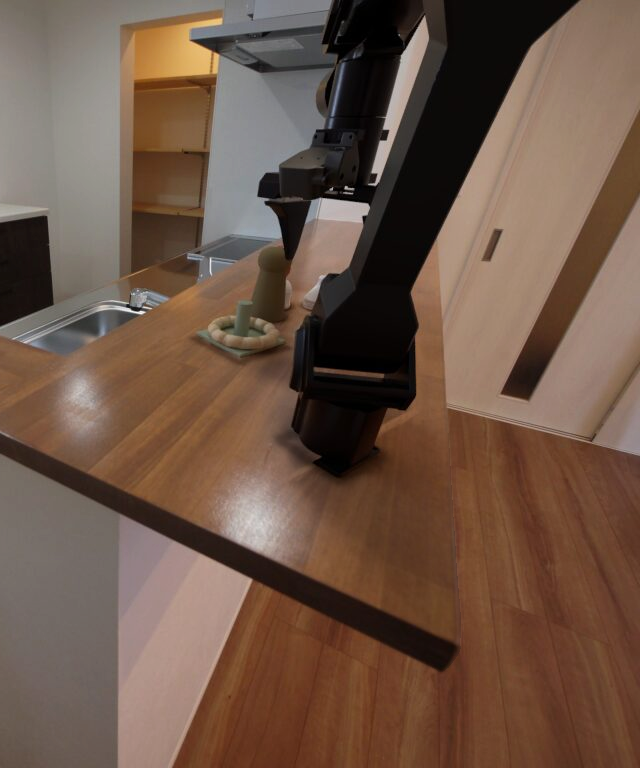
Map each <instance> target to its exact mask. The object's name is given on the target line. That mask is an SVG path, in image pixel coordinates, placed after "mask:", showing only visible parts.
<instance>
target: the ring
mask: <svg viewBox="0 0 640 768" xmlns="http://www.w3.org/2000/svg"><path fill="white" fill-rule="evenodd" d="M235 319H236V315H225V316H222V317H217V318H215V319H213V321H212V322H211V323H210V324H209V325H208V326H207V329H208V332H209V334H210V336H211V338H212V339H213V340H215V341H217V342H219V343H221V344H223V345H225V346H228V347H233V348H238V349H262V348H265V347H268V346H271V345H274V344H275V342H276V341H277V339H278V337H280V331H279V329H277V327H275V325H274V324H273V323H272V322H267V321H264V320H262V319H259V318H254V317H251V318H250V324H249V328H254V329H257V330H259V331H261V332H264V333H265V334H266V335H264V336H261V337H239V336H234V335H229V334H227V333H225V332H223V331H221V330H220V329H222V328H225V327H229V326H235Z"/></svg>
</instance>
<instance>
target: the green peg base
mask: <svg viewBox="0 0 640 768" xmlns="http://www.w3.org/2000/svg"><path fill="white" fill-rule="evenodd" d="M252 306H253V302H251V300H248V299H240V300H238V301H237V306H236V312H235V313H236V314H235V316H236V319H235V326H229V327H225V328H222V329H220V330H221V331H223V332H225V333H227V334H229V335H234V336H239V337H261V336H264V335H266V334H265V333H264V332H261V331H259V330H257V329H254V328H249V324H250V318H251V312H252ZM195 335H196V336H197V337H200V338H202V339H203V340H205V341H207V342H209V343H211V344H213V345H215V346H217V347H219V348H221V349H222V350H224V351H226V352H228V353H230V354H232V355H234V356H236V357H238V358H239V359H240V358H244V357H247V356H249V355H253V354H255V353H256V354H257V353H260V352H262V351H265V350H268V349H273V348H275V347H278V346H281V345H284V344H286V343H287V340H286V339H285V338H283V337H280V336H279V337H278V339H277V341H276V342H275V344H274V345H271V346H268V347H265V348H262V349H238V348H233V347H228V346H225V345H223V344H221V343H219V342H217V341H215V340H213V339H212V338H211V336H210V334H209V332H208V328H205V329H201V330H197V331H195Z"/></svg>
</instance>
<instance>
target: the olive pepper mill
mask: <svg viewBox="0 0 640 768" xmlns="http://www.w3.org/2000/svg"><path fill="white" fill-rule="evenodd" d="M292 264H293V260H290V261H288V260H286V259H285V253H284V247H283V248H282V247H277V246H267V247H264V248H262V249H261V251H260V252H259V255H258V257H257V265H258V267H259V270H258V271H259V272H258V275H257V279H256V281H255V285H254V288H253V292H252V294H251V297H250V301H251V302H253V306H252V312H251V317H254V318H259V319H262V320H264V321H267V322H269V323H274V322H280V321H282V320H284V318H285V309H284V308H285V291H286V279H287V277H286V274H287V270H288V269H289V268H290V266H291V267H292Z"/></svg>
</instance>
